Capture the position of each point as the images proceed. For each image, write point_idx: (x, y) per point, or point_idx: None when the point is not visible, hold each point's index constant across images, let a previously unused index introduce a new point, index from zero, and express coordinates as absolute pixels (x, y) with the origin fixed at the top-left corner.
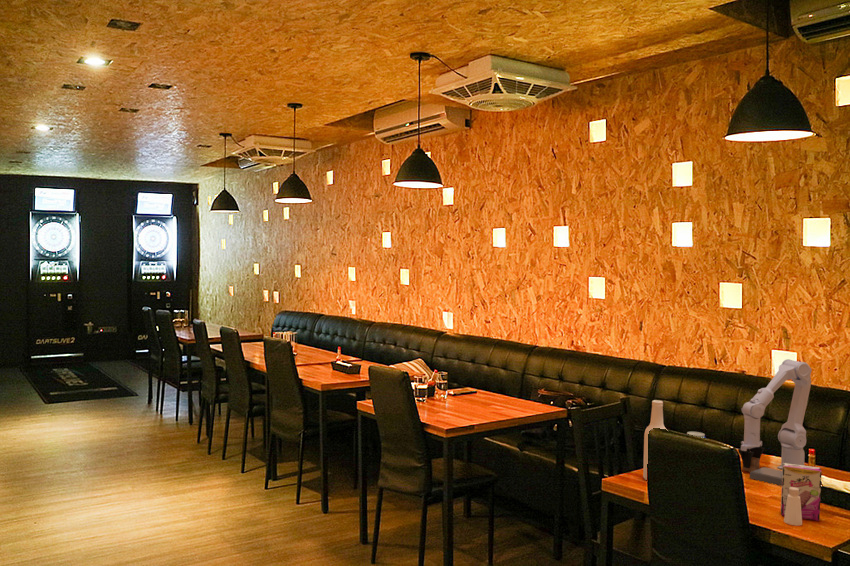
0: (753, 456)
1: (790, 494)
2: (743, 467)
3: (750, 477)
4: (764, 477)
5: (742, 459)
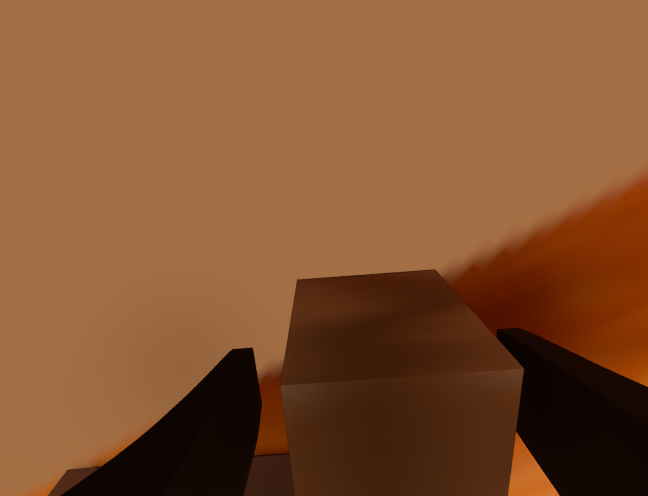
0: (589, 424)
1: None
2: (295, 303)
3: (60, 487)
4: None
5: (157, 432)
